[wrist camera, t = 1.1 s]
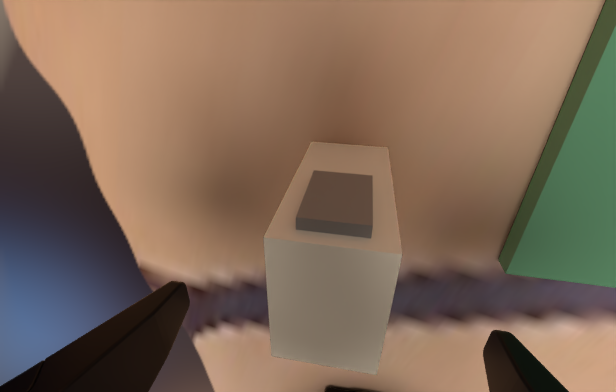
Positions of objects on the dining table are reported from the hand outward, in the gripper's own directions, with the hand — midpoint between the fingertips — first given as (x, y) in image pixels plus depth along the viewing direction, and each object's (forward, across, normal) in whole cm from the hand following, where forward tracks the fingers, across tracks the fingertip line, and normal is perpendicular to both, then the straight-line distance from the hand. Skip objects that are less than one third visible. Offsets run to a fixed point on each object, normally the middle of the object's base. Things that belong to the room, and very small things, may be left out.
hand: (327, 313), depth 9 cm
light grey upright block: (+7, 0, 0) cm, 7 cm away
